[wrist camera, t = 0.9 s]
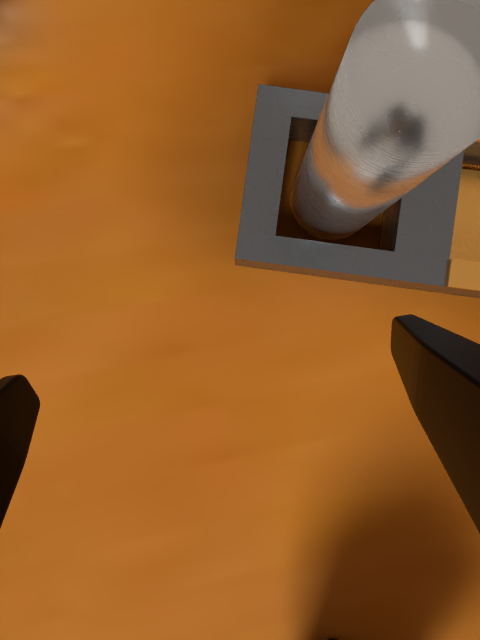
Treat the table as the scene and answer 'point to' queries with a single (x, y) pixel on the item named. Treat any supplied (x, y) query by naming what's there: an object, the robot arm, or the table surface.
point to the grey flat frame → (398, 220)
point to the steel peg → (391, 113)
